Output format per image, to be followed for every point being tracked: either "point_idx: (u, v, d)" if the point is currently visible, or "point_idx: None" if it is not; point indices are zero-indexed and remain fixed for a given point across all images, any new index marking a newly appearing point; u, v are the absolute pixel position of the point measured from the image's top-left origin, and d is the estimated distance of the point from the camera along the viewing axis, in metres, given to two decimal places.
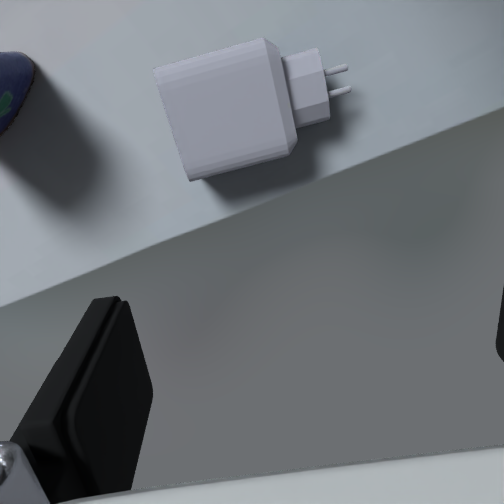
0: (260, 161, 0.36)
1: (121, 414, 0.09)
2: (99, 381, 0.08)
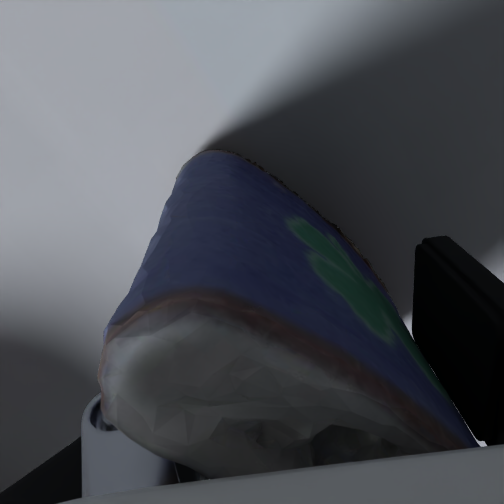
0: None
1: None
2: None
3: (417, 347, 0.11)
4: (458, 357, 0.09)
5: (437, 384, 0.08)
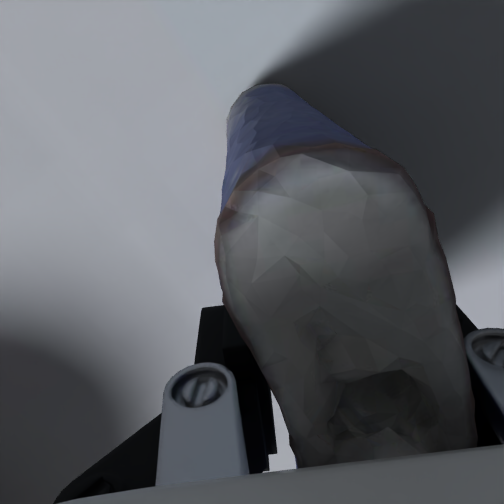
0: None
1: None
2: None
3: None
4: None
5: None
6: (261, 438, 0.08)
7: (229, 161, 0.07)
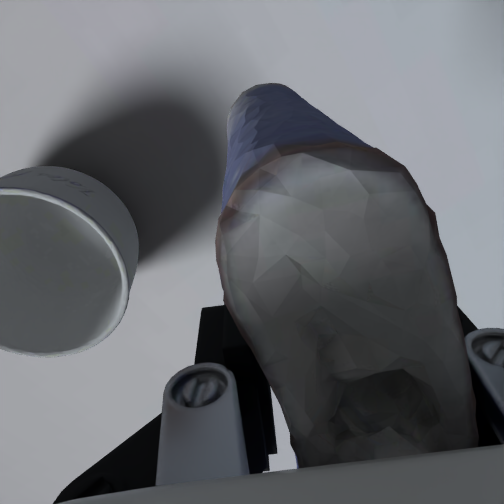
0: None
1: None
2: None
3: None
4: None
5: None
6: (261, 438, 0.08)
7: (229, 160, 0.07)
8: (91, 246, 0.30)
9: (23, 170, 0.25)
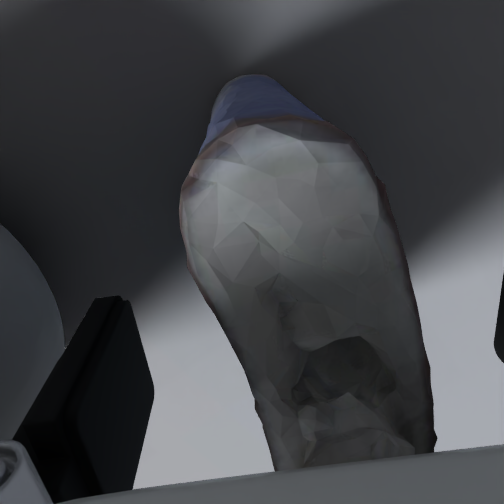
0: None
1: (123, 413, 0.09)
2: (101, 380, 0.08)
3: None
4: None
5: None
6: None
7: None
8: None
9: None
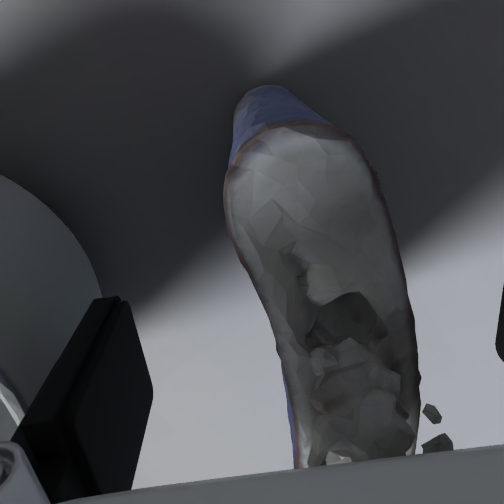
0: None
1: (121, 414, 0.09)
2: (99, 381, 0.08)
3: None
4: None
5: None
6: None
7: (234, 142, 0.09)
8: None
9: None
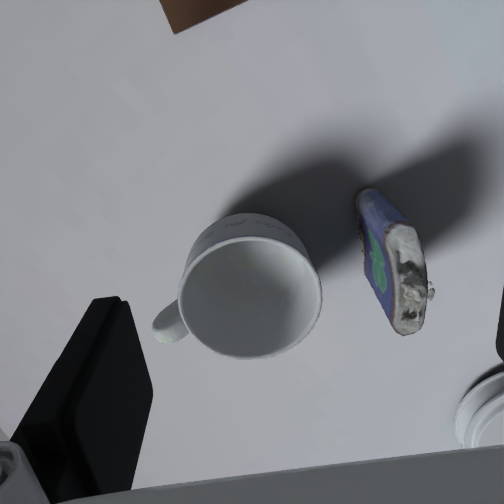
0: None
1: (121, 414, 0.09)
2: (99, 381, 0.08)
3: None
4: None
5: None
6: None
7: (376, 219, 0.31)
8: (263, 272, 0.38)
9: (238, 218, 0.33)
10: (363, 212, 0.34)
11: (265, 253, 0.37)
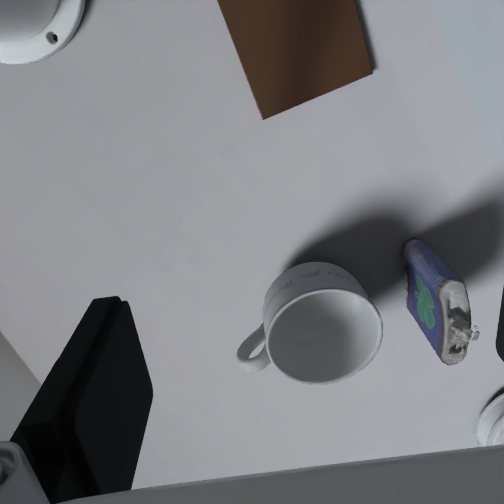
0: None
1: (121, 414, 0.09)
2: (99, 381, 0.08)
3: None
4: None
5: None
6: None
7: (428, 272, 0.38)
8: (323, 307, 0.45)
9: (311, 268, 0.40)
10: (413, 261, 0.41)
11: (326, 292, 0.44)
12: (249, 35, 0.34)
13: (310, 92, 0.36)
